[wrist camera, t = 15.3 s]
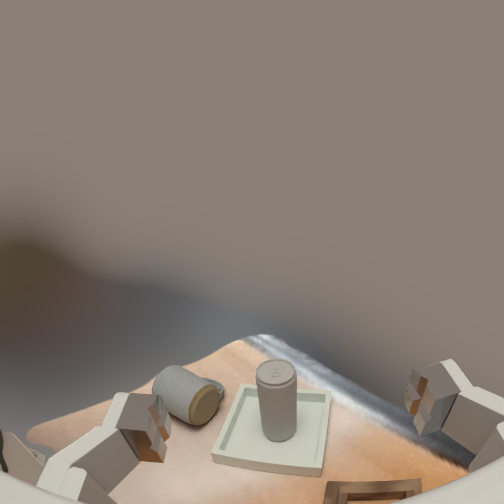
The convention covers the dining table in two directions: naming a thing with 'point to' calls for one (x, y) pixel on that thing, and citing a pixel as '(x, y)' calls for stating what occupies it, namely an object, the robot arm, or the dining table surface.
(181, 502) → the dining table surface
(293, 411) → the beverage can
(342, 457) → the dining table surface
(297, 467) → the tray
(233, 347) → the dining table surface
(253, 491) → the dining table surface
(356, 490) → the walnut collar
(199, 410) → the ceramic mug
